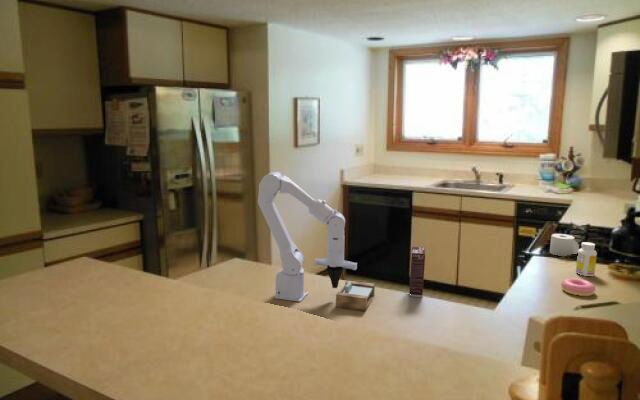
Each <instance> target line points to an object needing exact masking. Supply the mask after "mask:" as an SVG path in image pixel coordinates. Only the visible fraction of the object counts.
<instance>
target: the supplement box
mask: <svg viewBox="0 0 640 400" xmlns="http://www.w3.org/2000/svg"><path fill="white" fill-rule="evenodd" d="M425 264H426V248H425V247H420V246H412V248H411V261H410V272H409V273H410V274H409V289H408V290H409V293H408V296H409V297H413V298H423V293H424V292H423V291H424V280H425V279H424V277H425ZM410 294H411V295H410Z"/></svg>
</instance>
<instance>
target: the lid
mask: <svg viewBox="0 0 640 400" xmlns="http://www.w3.org/2000/svg"><path fill="white" fill-rule="evenodd" d="M348 281H349V282H348V283H347V284H346V286H345V285H344V286H345V290H344V291H343V293H348V294H356V295H363V296H368V297H369V295H370V293H371V292H372V290H373V287H369V286H361V285H353V284H352V282H351V281H352V280H348ZM368 297H367V299H368Z"/></svg>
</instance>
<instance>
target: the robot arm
mask: <svg viewBox="0 0 640 400" xmlns="http://www.w3.org/2000/svg"><path fill="white" fill-rule="evenodd" d="M291 179H292V178H289V177H288V176H287V175H284V174H283V173H282V172H280V171H278V170H272V171H270V172H269V173H268V174H266V175H264V176H263V177H262V178H261V180H260V182H259V184H258V195H257V205H258V206H259V208H260V212H261V213H262V215H263V217H264V219H265V222H266V223H267V226H268V228H269V230H270V232H271V234H272V236H273V239H274V241H275V242H276V245H277V247H278V249H279V254H280V259H281V262H282V263H281V264H282V265H281V266H282V270H279V271H277V272H276V276H275V296H274V299H278V300H285V301H291V302H293V301H294V302H302V301H303V299H304V298H305V297H306V296H307V295H308V293H309V292H308V291H305V269H304V268H303V264H304V261H305V255H304V253H303V251H301V250H300V249H299V248H298V246H297V245H296V244H295V243H294V242H293V240H292V238H291V235H290V234H289V232H288V230H287V229H288V228H287V227H286V225H285V223H284V220H283V219H282V218H283V217H281V214H280V212H279V210H278V208H277V206H276V204H275V199H276V197H277V194H278V193H279V194H289V195H290V196H292V197H293V198H295V199H296V200H297V201H299V202H300V203H302V204H303V205H304V206H306V207H307V208H308V213H309V214H311V215H312V216H313V217H314V218H316V220H318V221H320V222H321V223H322V224H324V225H326V228H327V230H328V235H327V251H326V253H327V258H315V259H314V264H313V265H314V266H323V267H326V273H327V274H328V276H329V279H330V282H331V287H332V289H337V288H338V287H339V282H340V279H341V276H342V273H343V272H344V269H350V270H352V271H356V270H357V269H358V262H353V261H349V260H345V237H346V236H345V226H346V218H345V216H344V215H343V214H342V213H341V212H339V211H338V210H337V209H333V208H332V207H330V206H329V205H328V204H327V201H326V200H325V199H323V200H321V199H320V198H317V199H316V198H313V197H312V196H311V195H309V193H307V192H306V191H305V190H304V189H302V188H301V187H300V185H298V184H296V183H295V181H293V180H291Z"/></svg>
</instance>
